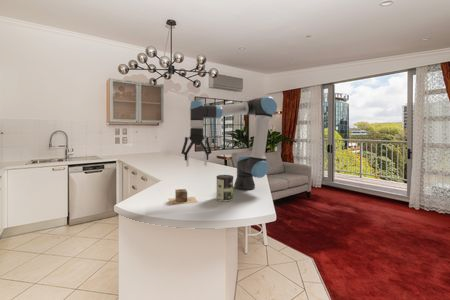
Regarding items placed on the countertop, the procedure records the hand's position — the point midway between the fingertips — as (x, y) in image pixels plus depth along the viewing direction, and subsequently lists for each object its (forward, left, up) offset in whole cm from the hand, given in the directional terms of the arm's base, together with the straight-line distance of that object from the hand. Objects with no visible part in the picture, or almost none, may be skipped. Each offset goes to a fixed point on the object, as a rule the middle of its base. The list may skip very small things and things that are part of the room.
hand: (196, 165), depth 139 cm
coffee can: (-17, +2, -21) cm, 27 cm away
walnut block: (+9, 0, -20) cm, 22 cm away
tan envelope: (+8, 0, -21) cm, 22 cm away
